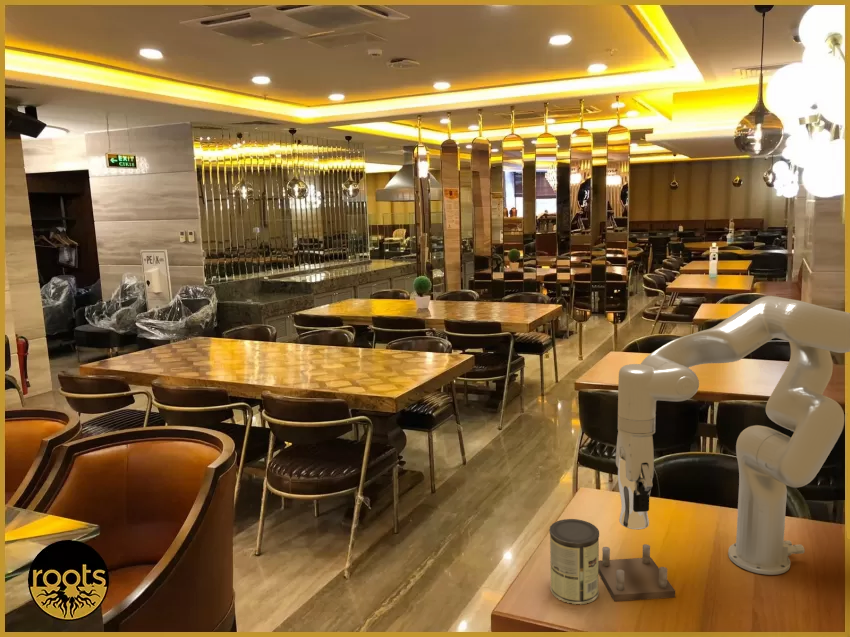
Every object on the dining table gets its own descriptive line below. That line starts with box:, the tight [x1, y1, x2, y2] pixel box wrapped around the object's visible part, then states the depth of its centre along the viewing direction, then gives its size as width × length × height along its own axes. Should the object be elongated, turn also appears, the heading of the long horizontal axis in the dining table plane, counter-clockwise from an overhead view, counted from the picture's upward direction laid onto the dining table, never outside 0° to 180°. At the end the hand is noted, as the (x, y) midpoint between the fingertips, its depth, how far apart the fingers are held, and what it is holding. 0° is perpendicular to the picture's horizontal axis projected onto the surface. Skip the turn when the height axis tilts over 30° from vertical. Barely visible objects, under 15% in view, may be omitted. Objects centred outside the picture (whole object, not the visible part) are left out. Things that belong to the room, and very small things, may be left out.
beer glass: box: [617, 455, 652, 530], centre depth 137 cm, size 7×7×15 cm
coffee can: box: [549, 518, 600, 605], centre depth 137 cm, size 10×10×14 cm
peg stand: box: [598, 543, 676, 602], centre depth 140 cm, size 13×13×6 cm
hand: (634, 502), depth 137 cm, fingers closed on beer glass, 6 cm apart
